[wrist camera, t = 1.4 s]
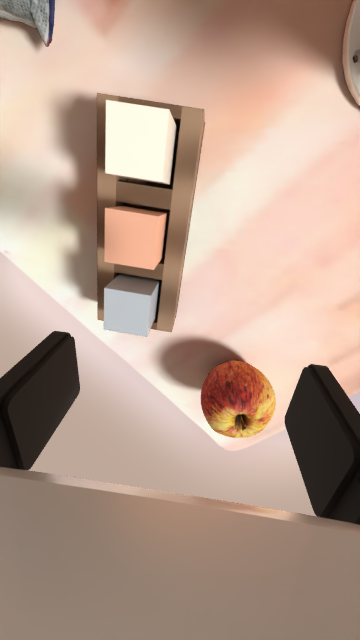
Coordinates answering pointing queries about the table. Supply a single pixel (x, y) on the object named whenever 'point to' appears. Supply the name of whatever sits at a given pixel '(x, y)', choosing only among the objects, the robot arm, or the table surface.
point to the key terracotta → (134, 236)
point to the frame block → (152, 206)
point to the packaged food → (31, 15)
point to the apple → (237, 399)
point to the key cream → (139, 142)
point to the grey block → (130, 304)
